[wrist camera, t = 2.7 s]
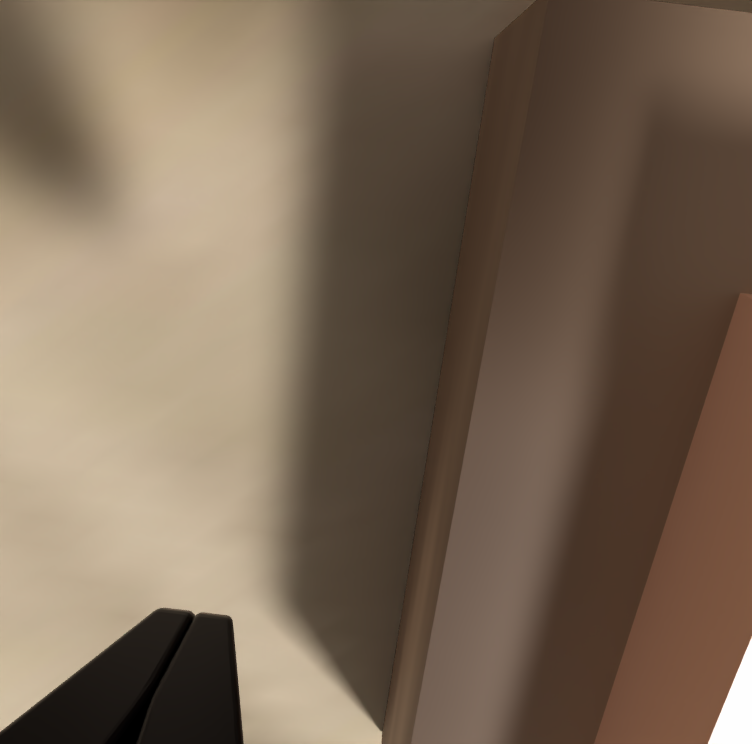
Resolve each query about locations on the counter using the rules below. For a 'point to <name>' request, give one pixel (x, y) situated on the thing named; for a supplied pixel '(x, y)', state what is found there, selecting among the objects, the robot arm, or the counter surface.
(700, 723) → the salmon pink brick
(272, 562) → the counter surface
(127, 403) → the counter surface
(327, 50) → the counter surface
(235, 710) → the robot arm
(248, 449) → the counter surface
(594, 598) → the wooden block
